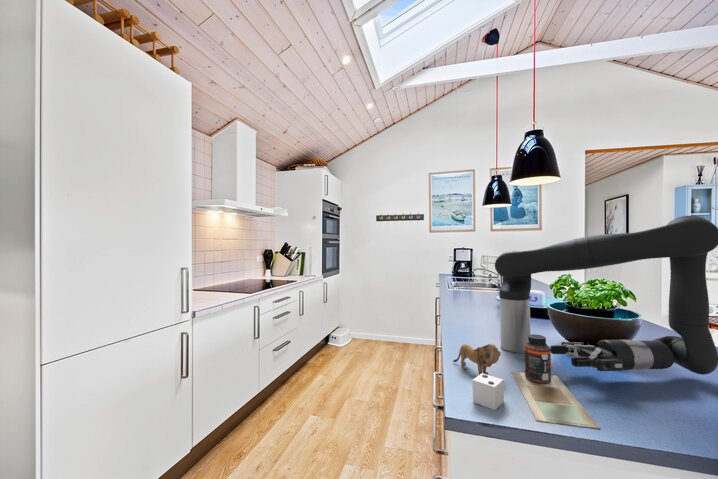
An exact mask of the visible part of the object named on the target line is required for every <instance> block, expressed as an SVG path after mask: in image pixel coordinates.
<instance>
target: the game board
mask: <svg viewBox="0 0 718 479" xmlns="http://www.w3.org/2000/svg"><path fill="white" fill-rule="evenodd" d="M511 374H512V376H513V378H514V379H515V381H516V383H517V385H518V387H519V390H520V391H521V393H522V395H523V397H524V399H525V401H526V403H527V405H528V407H529V409H530V411H531V413H532V415H533V417H534V419H535V420H536V422H542V423H550V424H559V425H566V426H571V427H572V426H574V427H580V428H589V429H596V430H597V429H598V430H601V427H600V426H599V424H597V422H596V421H595V420H594V418H592V416H591V415H590V414H589V413H588V412H587V410H586V409H585V408H584V407H583V405H581V403H580V402H579V401H578V399H577V398H576V397H575V396H574V395H573V394H572V392H570V389H568V388H567V386H566V384H564V383H563V382H562V380H561V379H560V378H559V377H558V376H557V375H552V374H551V382H550V383H547V384H541V383H535V382H532V381H530V380H528V379H527V378H526V377H525V372H520V371H511Z"/></svg>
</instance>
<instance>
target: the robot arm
mask: <svg viewBox="0 0 718 479" xmlns="http://www.w3.org/2000/svg"><path fill="white" fill-rule="evenodd" d="M717 247H718V227H717V226H716V225H715V224H714V223H713V222H711V221H710V220H708V219H706V218H703V217H700V216H698V215H683V216H679V217H676V218H674V219H672V220H670V221H669V222H668V223H667V224H666V225H662V226H658V227H654V228H649V229H645V230H641V231H636V232H635V231H633V232H625V233H605V234H596V235H594V234H593V235H590V236H589V235H588V236H583V237H579V238H573V239H570V240H565V241H561V242H558V243H555V244H551V245H547V246H544V247H541V248H537V249H536V248H535V249H529V250H519V251H517V250H516V251H514V250H513V251H507V252H503V253H501V254H500V255H499V256H498V257H497V258H496V260H495V262H494V269H495V271H496V273H497V274H498V275H500V276H501V277H502V283H501V287H500V288H499V292H498V293H499V294H498V295H499V322H500V323H499V329H500V331H499V332H500V334H499V336H500V337H499V338H500V348H501V349H503V350H504V351H507V352H511V353H519V354H524V346H525V344H526V343H527V342H529V340H528V335H531V334H532V333H531V332H532V331H531V306H530V304H531V303H530V302H531V301H530V300H531V299H530V295H531V290H532V275H534V274H539V273H544V272H545V273H548V272H565V271H566V272H567V271H568V272H569V271H581V270H589V269H596V268H603V267H608V266H615V265H621V264H626V263H630V262H637V261H642V260H650V259H661V258H663V259H664V258H665V259H666V258H669V268H670V269H669V270H670V276H669V277H670V281H669V282H670V283H669V293H668V294H669V296H668V326H669V327H670V329H671V330H672V331H673V332H675V333H676V334H678V335H679V336H677V335H666V336H661V337H659V338H655V339H653V340H633V339H601V340H599V341H598V342H597V343H596V345H591V344H588V345H584V343H583V342H569V341H561V342H560V345H557V344H556V345H554V344H553V345H550V346H549V347H550V353H551V354H552V355H567V356H568V355H569V356H572V357H571V358H570V359H571V364H570V365H571V366H573V367H575V368H576V367H577V368H582V367H584V368H586V367H587V368H588V367H589V368H590V369H595V368H596V371H598V372H622V371H630V372H631V371H642V370H664V369H669V368H671V367H672V366H673V365H674V364H676V365H678V366H680V367H682V368H684V369H686V370H688V371H690V372H692V373H694V374H697V375H703V376H704V375H710V374H712V373H713V372H714V371H715V370H717V368H718V350H717V347H716V344H715V341H714V339H713V336H712V333H711V331H710V301H709V299H710V298H709V292H708V285H707V284H708V283H707V276H706V275H707V272H706V271H707V269H706V266H707V265H706V264H707V260H708V254H709V252H711V251H714V250H715V249H716V248H717Z"/></svg>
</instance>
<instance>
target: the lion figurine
mask: <svg viewBox="0 0 718 479" xmlns="http://www.w3.org/2000/svg"><path fill="white" fill-rule="evenodd" d="M501 353H502V352H501V351H499V348H498V347H497V346H496V345H495V344H493V343H488V344H486V345H483V346H478V347H477V348H473V347H472V346H471V345H469V344H465V343H464V344H462V345H461V346H460V349H459V353H458V356H457V358H456V359H454V360H452V362H453V363H456V362H458V361H459V359H460V358H461V360H460V367H461V368H460V369H461V370H463V371H465V370H466V367H465V365H466V364H467V362H466V361H465V360H466V359H468V360H469V361H470V362H472V363H474V364H476V365H477V369H478V370H477V371H478V376H479V375H480V374H482V373H483V374H486V375H489V372H488V371H487V368H490V367H492V366H493V365H494V364H497V363H498V362H499V359H500V356H502V354H501Z"/></svg>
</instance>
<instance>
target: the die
mask: <svg viewBox="0 0 718 479" xmlns="http://www.w3.org/2000/svg"><path fill="white" fill-rule="evenodd" d="M504 385H505V384H504V379H503V378H499V377H496V376H493V375H489V374H488V375H486V374H483V372H482V374H480V375H479V374H478V375H477V376H475V377H474V378H472V402H473V403H475V404H478V405H480V406H483V407H485V408H488V409H491V410H493V411H497V409H498V408H499V407H501V405H502V404H504V403H505V392H504V391H505V390H504V387H505V386H504Z"/></svg>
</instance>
